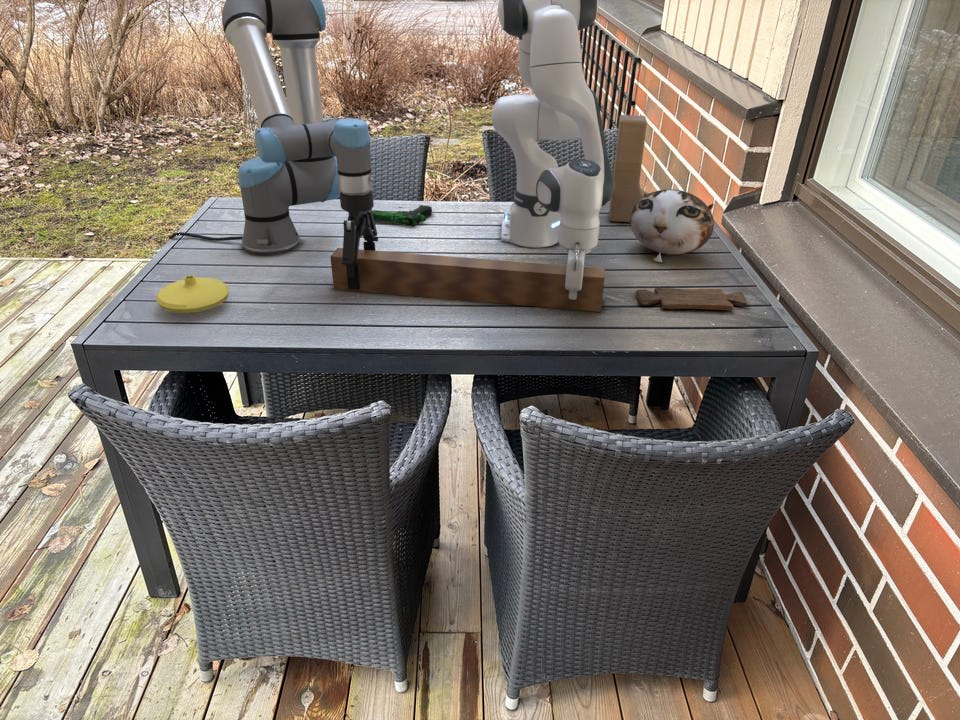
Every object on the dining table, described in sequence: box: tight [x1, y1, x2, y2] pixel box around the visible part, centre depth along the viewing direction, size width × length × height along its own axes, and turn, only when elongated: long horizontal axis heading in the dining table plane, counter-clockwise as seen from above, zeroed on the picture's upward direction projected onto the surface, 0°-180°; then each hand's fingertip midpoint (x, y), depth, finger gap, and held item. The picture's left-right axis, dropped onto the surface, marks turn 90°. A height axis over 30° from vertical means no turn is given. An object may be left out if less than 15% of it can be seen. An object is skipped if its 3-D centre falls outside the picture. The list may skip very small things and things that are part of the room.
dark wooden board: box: [635, 287, 748, 311], centre depth 169 cm, size 26×2×10 cm
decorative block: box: [608, 114, 651, 223], centre depth 211 cm, size 8×15×30 cm, turn 82°
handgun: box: [372, 204, 433, 227], centre depth 216 cm, size 16×3×15 cm
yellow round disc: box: [155, 274, 230, 315], centre depth 163 cm, size 16×16×7 cm
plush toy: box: [629, 188, 715, 263], centre depth 192 cm, size 22×18×20 cm
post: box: [329, 247, 606, 313], centre depth 169 cm, size 64×5×9 cm, turn 81°
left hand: (362, 277), depth 173 cm, fingers open, 12 cm apart
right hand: (573, 291), depth 166 cm, fingers closed on post, 5 cm apart
